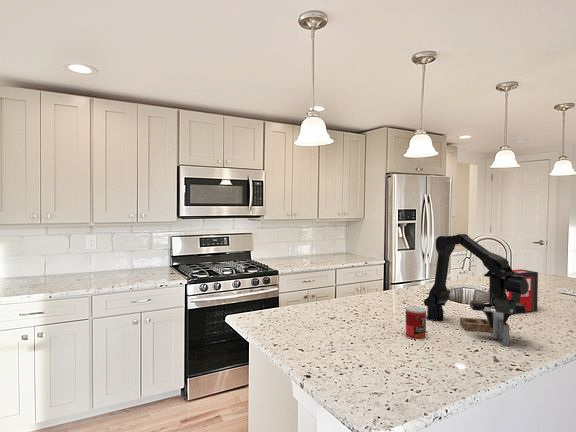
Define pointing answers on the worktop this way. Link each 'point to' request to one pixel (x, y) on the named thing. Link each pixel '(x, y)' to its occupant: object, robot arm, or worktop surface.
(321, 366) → the worktop surface
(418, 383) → the worktop surface
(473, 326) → the brown wooden slotted frame
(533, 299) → the cleaning product box
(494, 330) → the square bit
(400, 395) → the worktop surface
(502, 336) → the grey rectangular block
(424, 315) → the canned food
